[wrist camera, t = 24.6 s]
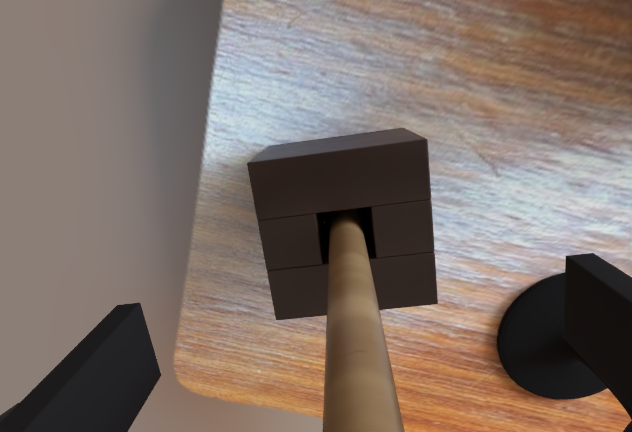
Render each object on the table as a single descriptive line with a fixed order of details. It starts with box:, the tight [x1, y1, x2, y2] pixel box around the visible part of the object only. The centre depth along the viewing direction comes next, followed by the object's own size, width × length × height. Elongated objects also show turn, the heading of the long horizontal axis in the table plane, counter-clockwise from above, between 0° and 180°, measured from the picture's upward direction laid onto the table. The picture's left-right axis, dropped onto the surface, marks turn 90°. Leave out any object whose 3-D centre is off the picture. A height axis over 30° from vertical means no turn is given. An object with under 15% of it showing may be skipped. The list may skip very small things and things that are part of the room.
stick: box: [323, 208, 405, 432], centre depth 17 cm, size 2×2×22 cm
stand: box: [247, 128, 438, 320], centre depth 25 cm, size 9×9×7 cm
